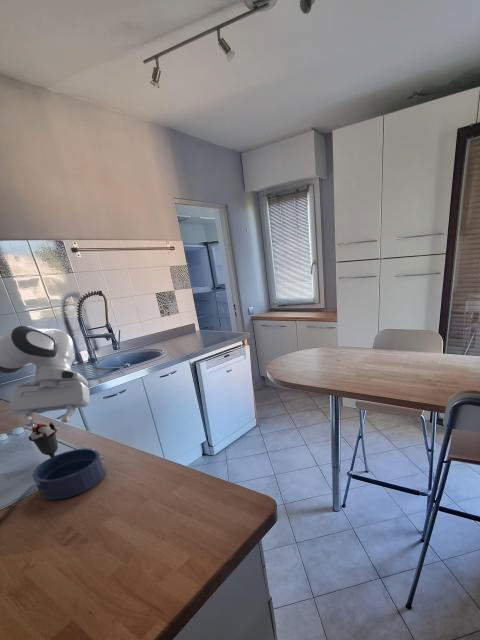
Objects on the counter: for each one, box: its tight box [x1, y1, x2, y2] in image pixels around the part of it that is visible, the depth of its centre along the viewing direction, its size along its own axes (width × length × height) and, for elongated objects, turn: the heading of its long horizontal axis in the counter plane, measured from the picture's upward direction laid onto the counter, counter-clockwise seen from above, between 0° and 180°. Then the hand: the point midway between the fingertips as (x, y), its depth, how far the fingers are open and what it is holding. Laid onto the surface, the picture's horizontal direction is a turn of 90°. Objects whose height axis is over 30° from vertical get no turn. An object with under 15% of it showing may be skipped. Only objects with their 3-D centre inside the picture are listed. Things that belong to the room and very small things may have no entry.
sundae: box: [28, 421, 59, 459], centre depth 94 cm, size 7×7×15 cm
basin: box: [31, 447, 106, 501], centre depth 87 cm, size 15×15×6 cm
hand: (47, 424), depth 95 cm, fingers open, 8 cm apart
